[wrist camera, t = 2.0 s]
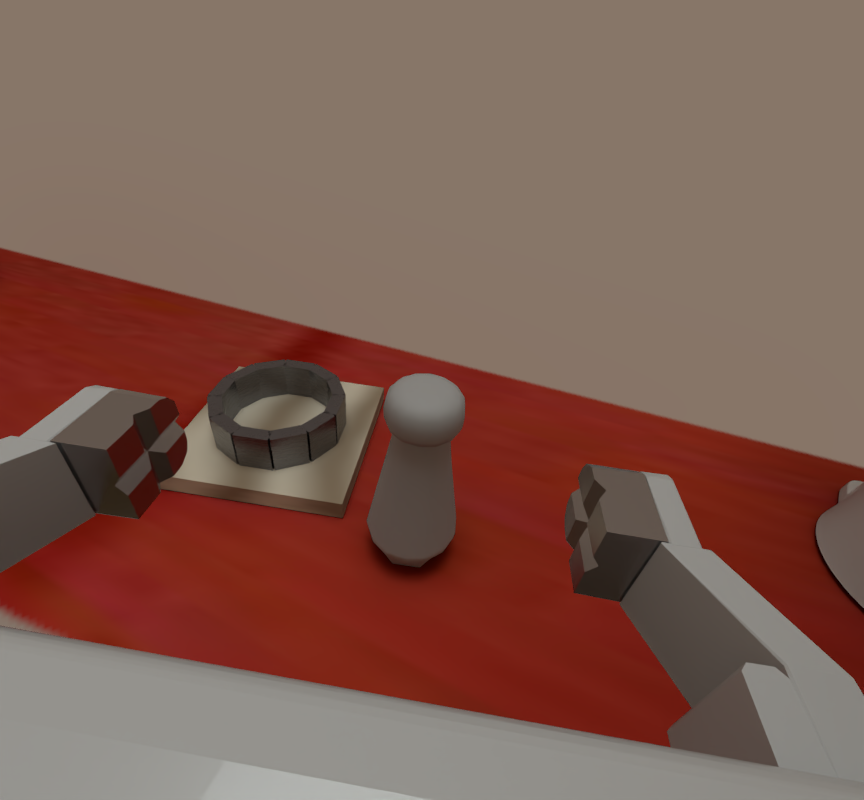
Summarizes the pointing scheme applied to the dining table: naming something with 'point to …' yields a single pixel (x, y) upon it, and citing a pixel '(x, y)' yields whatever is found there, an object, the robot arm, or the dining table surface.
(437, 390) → the salt shaker
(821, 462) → the dining table surface
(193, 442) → the birch stand
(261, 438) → the metal collar
